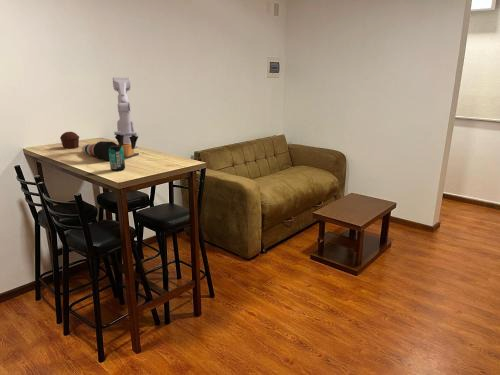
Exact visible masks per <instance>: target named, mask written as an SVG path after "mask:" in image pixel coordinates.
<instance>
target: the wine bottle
mask: <svg viewBox="0 0 500 375" xmlns="http://www.w3.org/2000/svg"><path fill="white" fill-rule="evenodd" d="M113 145H117V143H116V142H114V141H105V140H103V141H102V140H101V141H97V142H96V143H86V144H84V145H83V146H82V147H81V150H82V152H83V153H84V155H88V156H89V155H90V156H93V157H95V158H97V159H99V160H104V161H110V159H109V148H110V146H113Z"/></svg>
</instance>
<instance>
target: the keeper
mask: <svg viewBox="0 0 500 375" xmlns="http://www.w3.org/2000/svg"><path fill="white" fill-rule="evenodd" d="M136 156H139V152H134V154H133V155H130V156H127V157H124V160H128V159H131V158H134V157H136Z"/></svg>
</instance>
